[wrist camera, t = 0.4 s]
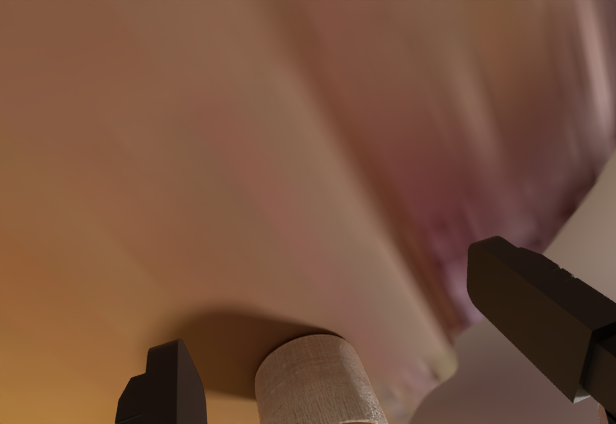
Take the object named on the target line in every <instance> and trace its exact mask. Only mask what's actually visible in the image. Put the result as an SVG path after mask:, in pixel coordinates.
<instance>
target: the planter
mask: <svg viewBox="0 0 616 424" xmlns="http://www.w3.org/2000/svg"><path fill="white" fill-rule="evenodd" d="M255 395H256V401H257V406H258V412H259V417H260V423H261V424H388V422H387V420H386V418H385V415H384V413H383V411H382V409H381V406H380V404H379V402H378V400H377V397H376V395H375V393H374V391H373V388H372V386H371V384H370V381H369V379H368V377H367V374H366V372H365V370H364V368H363V365H362V363H361V361H360V359H359V356H358V354H357V352H356V351H355V349H354V348H353V346H352V345H351V344H350V343H349V342H347V341H346V340H344V339H342V338H340V337H338V336H334V335H329V334H313V335H306V336H302V337H298V338H296V339H293V340H291V341H288V342H286V343H284V344H283V345H281V346H280V347H278V348H277V349H275V350H274V351H273V352H271V353H270V354H269V355H268V356H267V357H266V358H265V359H264V361H263V362H262V363H261V365H260V366H259V368H258V370H257V373H256V376H255Z"/></svg>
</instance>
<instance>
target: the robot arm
mask: <svg viewBox="0 0 616 424" xmlns="http://www.w3.org/2000/svg"><path fill="white" fill-rule="evenodd" d="M467 291H468V295H469V297H470V299H471V301H472V303H473V304H474V306H475V307H476V308H477V309H478V310H479V311H480V312H481V313H482V314H483V315H484V316H485V317H486V318H487V319H488V320H489V321H490V322H491V323H492V324H493V325H494V326H495V327H496V328H497V329H498V330H499V331H500V332H501V333H502V334H504V336H505V337H506V338H507V339H508V340H510V341H511V342H512V343H513V344H514V345H515V346H516V347H517V348H518V349H519V350H520V351H521V352H522V353H523V354H524V355H525V356H526V357H527V358H528V359H529V360H530V361H531V362H532V363H533V364H534V365H535V366H536V367H537V368H538V369H539V370H540V371H541V372H542V373H543V374H544V375H545V376H546V377H547V378H548V379H549V380H550V381H551V382H552V383H553V384H554V385H555V386H556V387H557V388H558V389H559V390H560V391H561V392H562V393H563V394H564V395H565V396H566V397H567V398H568V399H569V400H570V401H571V402H572V403H575V402H578V401H580V400H582V399H585V398H587V397H590V396H592V397H593V398H594V399H595V400H596V401H597V402H599V405H598V416H599V420H600V424H616V303H615V302H613V301H612V300H610V299H609V298H607V297H606V296H604V295H603V294H601V293H600V292H598V291H597V290H595V289H594V288H592V287H591V286H589V285H587V284H586V283H584V282H583V281H581V280H580V279H578V278H574V276H573V275H572V274H571V273H569V272H568V271H566V270H564V269H563V268H562V269H560V267H559V266H558V265H557V264H556V263H554V262H552V261H551V260H549V259H548V258H546V257H545V256H543V255H542V254H539V253H536V252H533V251H530V250H528V249H525V248H522V247H520V248H517V247H515V246H514V245H512V244H511V243H510V242H508V241H507V240H505V239H504V238H502V237H500V236H494V237H491V238H488V239H484V240H481V241H478V242H475V243H472V244H471V245H470V246H469V249H468V266H467ZM115 424H207V411H206V399H205V393H204V389H203V385H202V382H201V379H200V377H199V374H198V372H197V370H196V368H195V366H194V363H193V361H192V359H191V357H190V355H189V352H188V350H187V348H186V346H185V344H184V342H183V340H182V339H177V340H174V341H171V342H168V343H165V344H162V345H159V346H155V347H152V348H150V349H149V351H148V355H147V365H146V373H144V374H141V375H138V376H135V377H132V378H131V379H130V381H129V382H128V384H127V386H126V388H125V390H124V391H123V393H122V395H121V397H120V398H119V401H118V407H117V413H116V419H115Z"/></svg>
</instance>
